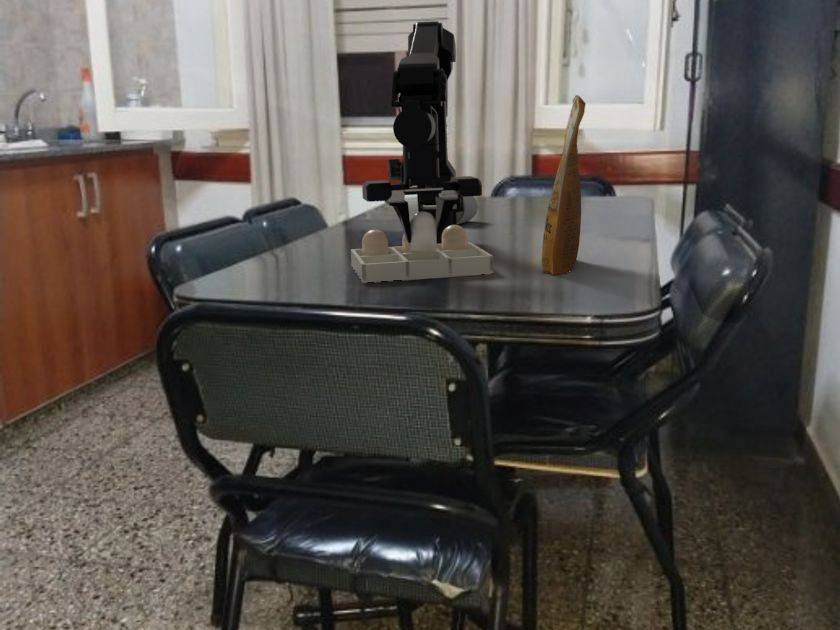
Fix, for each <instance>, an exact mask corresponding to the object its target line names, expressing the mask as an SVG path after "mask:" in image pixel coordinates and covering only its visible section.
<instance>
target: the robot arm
mask: <svg viewBox="0 0 840 630" xmlns="http://www.w3.org/2000/svg"><path fill="white" fill-rule="evenodd" d="M455 39H456V38H455V35H454V33H453V32H450V31H449V30H448V29H446V28H444V26H443V22H439V21H438V20H435V21H433V20H432V21H418V22H416V23H413V25H412V32H410V33H409V34H408V36H407V42H408V43H407V56H405V57H402V58H401V59H400V60H399V62H398V64H397V69H395V70H393V74H392V75H393V76H392V88H391V108H401V111H399V113H398V114H397V115H396V117H395V118H394V122H393V125H392V130H393V134H394V137H395V139H396V140H397V142H398V143H399V144H401V145H402V160H401V161H400V159H399V158H393V159H391V158H389V159H388V160H387V179H388V180H387V179H385V180H383V179H382V180H366V181H364V182H363V184H362V188H361V189H362V191H361V192H362V199H363V200H364V201H366V202H370V203H371V202H384V204H386V205H388V207H392V208H393V209H394V211H395V213H396V215H397V217H398V220H399V222H400V225H401V228H402V231H403V235H404V234H405V236H406V239H407V242H408V243H411V227H410V220H411V218H410V210H409V202H408V201H407V200H405V197H406V196H410V195H411V196H414V195H416V196H417V197H416V199H417V210H418V212H422V211H424V212H428V213H430V214H431V215H432V216H433V217H434V218H435V220H436V231H437V244H442V233H443V231H444V230H445V228H447V227H448V226H450V225H457V212H461V211H464V199H463V196H464V197H469V196H473V197H480V196H482V195H483V184H482V181H481V180H480V179H479V177H475V176H472V175H467V176H463V175H462V176H457V171H456V169H455V168H454V166H453V164H452V163H451V162H450V160H449V158H448V157H449V156H448V155H449V153H448V131H447V130H448V127H447V103H446V102H447V93H448V92H447V88H448V87H447V86H448V80H449V78H450V76H451V74H452V71H453V66H454V65H453V63H456V59H457V51H456V50H457V48H456V40H455ZM390 181H398V182H399V183H398V184H397V183H395V184H392V183H391V182H390ZM454 204H457V206H454ZM418 212H417V213H418Z"/></svg>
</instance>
